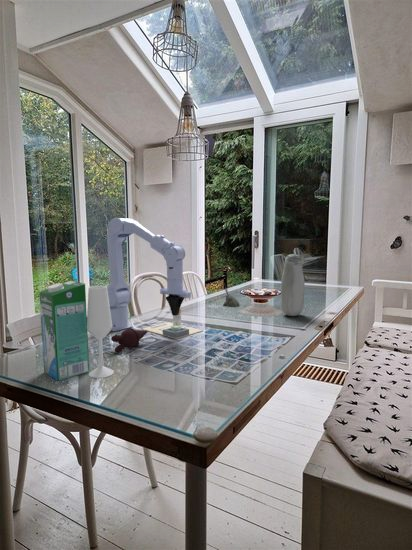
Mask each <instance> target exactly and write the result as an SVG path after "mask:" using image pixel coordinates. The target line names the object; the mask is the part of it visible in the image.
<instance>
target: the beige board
mask: <svg viewBox="0 0 412 550" xmlns="http://www.w3.org/2000/svg"><path fill="white" fill-rule="evenodd" d="M171 326H173V322H169V321H168V322H164V323H160V324H156V325H152V326H149V327H143V328H141V330H145V331H148V332H150V333H153V334H157V335H161V336H165V337H168V338H172V339H175V340H178V339H181V338H185V337H188V336H192V335H194V334H198V333H202V332H204V330H202V329H197V328H194V327H191V326H185V325H182V324H181V327H182V328H186V329H189V334H187V335H184V336H180V337H177V338H174V337H170V336H167V335H163V330H164V329H167V328H171Z"/></svg>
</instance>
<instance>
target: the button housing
mask: <svg viewBox="0 0 412 550" xmlns="http://www.w3.org/2000/svg"><path fill="white" fill-rule="evenodd" d="M187 334H189V329H186V328H182V327H181V330H180V331H177V332H174V331H171V328H167V329H164V330H163V335H162V336H164V335H167V336H170V337H169V338H171V337H174V338H173V339H175V338H177V337H180V336H184V335H187ZM167 336H166V337H167Z"/></svg>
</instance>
